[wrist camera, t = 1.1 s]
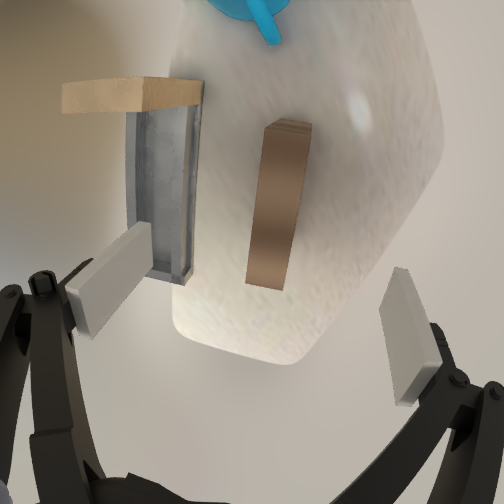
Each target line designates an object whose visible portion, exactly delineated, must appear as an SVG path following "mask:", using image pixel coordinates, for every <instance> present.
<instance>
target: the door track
mask: <svg viewBox="0 0 504 504" xmlns="http://www.w3.org/2000/svg"><path fill="white" fill-rule="evenodd" d="M203 90H204V81H198V80H188V79H176V78H162V77H125V78H110V79H98V80H88V81H79V82H71V83H64V84H62V111H61V113H62V114H67V113H85V112H86V113H87V112H127V114H126V204H127V225H128V230H129V229H130V228H131V227H132V226H133V225H135V224H136V223H137V222H138V221H142V222H148V223H151V236H152V255H153V267H152V268H151V269H150V270H149V272H148V273H147V274H146V275H145V276H146V277H150V278H154V279H158V280H162V281H167V282H170V283H175V284H179V285H183V286H185V284H186V283H187V281H188V280H189V278H190V277H191V275H192V274H193V245H194V218H195V196H196V178H197V163H198V148H199V135H200V123H201V111H202V101H203Z"/></svg>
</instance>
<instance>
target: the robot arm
mask: <svg viewBox="0 0 504 504" xmlns="http://www.w3.org/2000/svg"><path fill="white" fill-rule="evenodd" d="M152 267H153V255H152V236H151V223H148V222H142V221H138V222H137V223H136V224H135V225H133V226H132V227H131V228H130V229H129V230H128V231H126V232H125V233H124V234H123V235H121V236H120V237H119V238H118V239H117V240H115V241H114V242H113V243H112V244H111V245H110V246H109V247H107V248H106V249H105V250H104V251H103V252H101V253H100V254H99V255H98V256H97V257H96V258H95V259H93V258H90V259H88V260H86V261H84V262H82V263H81V264H80V265H79V266H78V267H77V268H76V269H74V270H73V271H72V272H71V273H70V274H69V275H68V276H66V277H65V278H64V279H63V280H62V281H61V282H60V283H59V284H57V280H56V277H55V274H54V273H53V272H52V271H48V270H46V271H45V270H44V271H40V272H37V273H35V274H33V275H32V276H31V277H30V278H29V280H28V283H29V286H30V289H31V292H32V295H28V294H23V291H22V288H21V286H19V285H16V284H13V285H8V286H6V287H4V288H3V289H2V290H1V291H0V504H13V503H12V499H11V497H10V496H9V491H8V489H7V483H8V478H9V474H10V468H11V461H12V452H13V444H14V437H15V430H16V424H17V418H18V412H19V407H20V402H21V397H22V393H23V388H24V384H25V379H26V375H27V371H28V367H29V363H30V371H31V394H32V409H33V419H34V429H35V432H34V434H31V435H30V437H29V443H30V451H31V457H32V464H33V470H34V475H35V481H36V485H37V490H38V495H39V499H40V502H39V503H37V504H229V503H218V502H193V501H188V500H185V499H183V498H182V497H180V496H178V495H176V494H174V493H173V492H171V491H170V490H168V489H166V488H165V487H163V486H161V485H160V484H158V483H155V482H153V481H150V480H147V479H144V478H142V477H139V476H136V475H134V474H131V473H128V475H127V477H126V478H119V477H111V478H106V476H105V473H104V472H103V469H102V467H101V465H100V463H99V460H98V457H97V454H96V450H95V447H94V443H93V439H92V435H91V431H90V427H89V423H88V419H87V415H86V410H85V405H84V401H83V397H82V391H81V385H80V380H79V374H78V368H77V361H76V354H75V347H74V339H73V334H72V330H73V329H74V327H75V326H76V327H77V331H78V334H79V336H82V337H84V338H87V339H90V340H93V339H94V337H95V336H96V335H97V334H98V332H99V331H100V330H101V329H102V327H103V326H104V325H105V324H106V322H107V321H108V320H109V319H110V317H111V316H112V315H113V314H114V312H115V311H116V310H117V309H118V307H119V306H120V305H121V304H122V302H123V301H124V300H125V299H126V298H127V296H128V295H129V294H130V293H131V292H132V290H133V289H134V288H135V287H136V286H137V285H138V283H139V282H140V281H141V280H142V279H143V277H144V276H145V275H146V274H147V273H148V272H149V270H150V269H151V268H152ZM379 311H380V316H381V321H382V326H383V331H384V336H385V341H386V346H387V352H388V358H389V363H390V369H391V376H392V382H393V390H394V396H395V404H396V406H408V407H412V405H413V404H414V403H415V401H416V400H417V399H418V400H419V405H420V406H419V407H418V408H417V410H416V411H415V412H414V413H413V415H412V416H411V417H410V418H409V420H408V421H407V423H406V424H405V425H404V426H403V428H402V429H401V430H400V431H399V432H398V434H397V435H396V436H395V437H394V438H393V440H392V441H391V442H390V443H389V444H388V445H387V446H386V448H385V449H384V450H383V451H382V452H381V453H380V454H379V456H378V457H377V458H376V459H375V460H374V461H373V462H372V463H371V464H370V465H369V466H368V467H367V468H366V469H365V470H364V471H363V472H362V473H361V474H360V475H359V476H358V477H357V478H356V479H355V480H354V481H353V482H352V483H351V484H350V485H349V486H348V487H347V488H346V489H345V490H344V491H343V492H342V493H341V494H340V495H338V496H337V497H336V498H335V499H334V500H333V501H332V502H331V503H330V504H393V503H394V502H395V501H396V500H397V498H398V497H399V496H400V495H401V493H402V492H403V491H404V490H405V489H406V487H407V486H408V485H409V483H410V482H411V481H412V479H413V478H414V477H415V476H416V474H417V472H418V471H419V470H420V469H421V467H422V466H423V465H424V463H425V462H426V460H427V459H428V457H429V456H430V454H431V453H432V451H433V450H434V448H435V447H436V445H437V444H438V442H439V441H440V439H441V438H442V436H443V434H444V433H445V431H446V429H447V428H451V429H452V431H451V435H450V438H449V441H448V445H447V448H446V452H445V455H444V458H443V461H442V464H441V467H440V470H439V473H438V476H437V478H436V481H435V484H434V487H433V489H432V492H431V495H430V497H429V499H428V502H427V504H493V501H494V497H495V492H496V488H497V483H498V478H499V473H500V468H501V462H502V455H503V448H504V387H503V386H502V385H501V384H500V383H498V382H495V381H490V382H488V383H487V384H486V385H485V386H484V388H481V387H478V386H475V385H473V384H470V380H469V378H468V376H467V375H466V374H465V373H464V372H463V371H462V370H460V369H458V368H456V366H455V363H454V360H453V357H452V354H451V351H450V349H449V347H448V343H447V341H446V338H445V336H444V333H443V331H442V330H441V328H440V327H439V326H438V325H437V324H436V323H429V321H428V318H427V316H426V313H425V310H424V308H423V305H422V303H421V300H420V298H419V295H418V293H417V290H416V288H415V285H414V283H413V281H412V278H411V276H410V273H409V271H408V269H403V268H398V267H395V268H394V271H393V274H392V277H391V279H390V282H389V284H388V287H387V290H386V292H385V295H384V298H383V300H382V303H381V305H380V308H379Z"/></svg>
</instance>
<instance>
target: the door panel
mask: <svg viewBox="0 0 504 504" xmlns="http://www.w3.org/2000/svg"><path fill="white" fill-rule="evenodd" d="M311 131H312V124H309V123H303V122H297V121H291V120H285V119H279V120H277V121H276V122H274V123H272V124H271V125H269V126H267V127H266V128H265V132H264V140H263V147H262V155H261V163H260V171H259V179H258V186H257V194H256V202H255V210H254V218H253V226H252V234H251V242H250V249H249V257H248V265H247V273H246V281H245V283H246V284H251V285H256V286H261V287H266V288H271V289H276V290H281V291H283V287H284V282H285V277H286V272H287V267H288V262H289V257H290V252H291V247H292V241H293V236H294V231H295V226H296V220H297V215H298V209H299V204H300V198H301V193H302V187H303V182H304V176H305V170H306V164H307V158H308V152H309V146H310V140H311Z"/></svg>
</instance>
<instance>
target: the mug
mask: <svg viewBox="0 0 504 504" xmlns="http://www.w3.org/2000/svg"><path fill="white" fill-rule="evenodd" d="M208 1H209V2H210V3H211V4H213V5H214V6H215V7H216V8H217V9H219V10H220V11H222V12H223V13H224V14H226V15H227V16H229V17H232V18H235V19H238V20H248V21H256V23H257V25H258V27H259V29H260V31H261V33H262V35H263V37H264V39H265V40H266V42H267V43H268V44H269V45H277V44H279V43H280V42H281V41H282V38H281V35H280V33H279V30H278V28H277V25H276V23H275V21H274V18H273V16H272V15H274V14H276V13H278V12H280V11H281V10H282V9H283V8H284V7H285V6H286V5H287V4H288V3H289V1H290V0H208Z"/></svg>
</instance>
